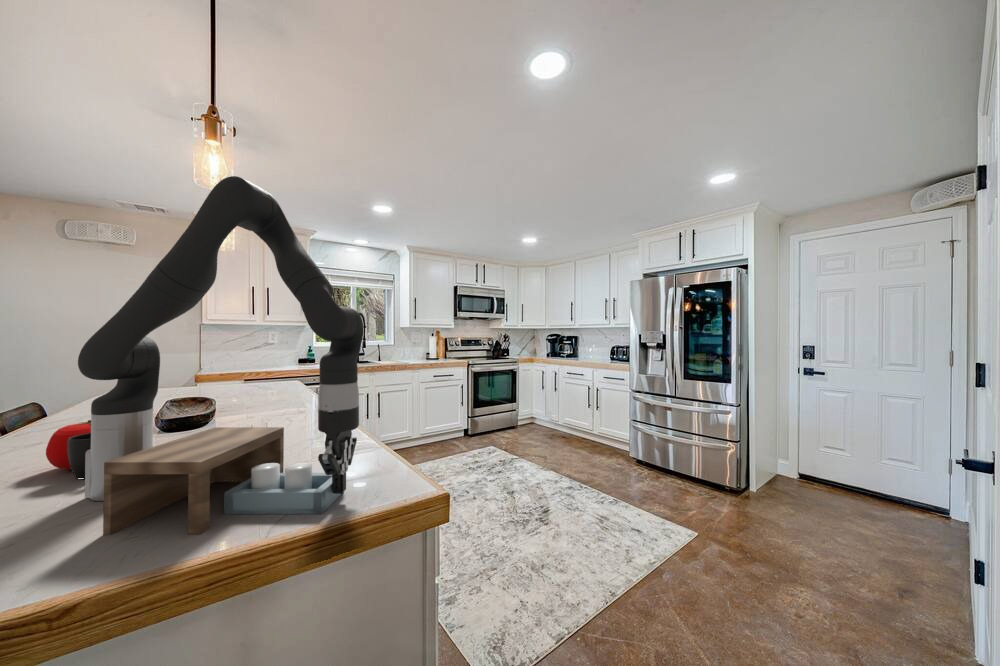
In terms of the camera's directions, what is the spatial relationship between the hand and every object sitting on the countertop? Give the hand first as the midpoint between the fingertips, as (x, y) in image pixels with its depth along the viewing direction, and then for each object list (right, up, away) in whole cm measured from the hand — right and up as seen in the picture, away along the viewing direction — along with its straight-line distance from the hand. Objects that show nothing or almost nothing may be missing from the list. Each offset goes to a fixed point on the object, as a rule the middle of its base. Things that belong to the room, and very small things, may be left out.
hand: (339, 492), depth 74 cm
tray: (-10, -2, 0) cm, 10 cm away
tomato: (-73, -2, +20) cm, 76 cm away
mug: (-63, -2, +13) cm, 65 cm away
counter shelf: (-26, -2, 0) cm, 26 cm away
